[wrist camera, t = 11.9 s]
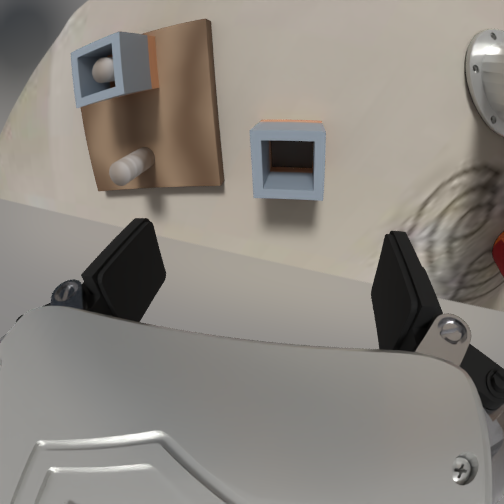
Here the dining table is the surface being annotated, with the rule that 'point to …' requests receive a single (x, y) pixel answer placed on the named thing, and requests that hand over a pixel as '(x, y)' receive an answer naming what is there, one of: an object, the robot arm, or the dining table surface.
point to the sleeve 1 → (115, 67)
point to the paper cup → (499, 252)
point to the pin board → (160, 119)
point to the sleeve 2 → (287, 178)
